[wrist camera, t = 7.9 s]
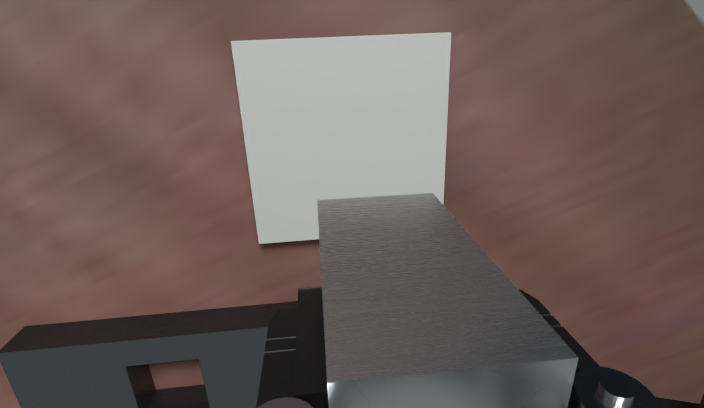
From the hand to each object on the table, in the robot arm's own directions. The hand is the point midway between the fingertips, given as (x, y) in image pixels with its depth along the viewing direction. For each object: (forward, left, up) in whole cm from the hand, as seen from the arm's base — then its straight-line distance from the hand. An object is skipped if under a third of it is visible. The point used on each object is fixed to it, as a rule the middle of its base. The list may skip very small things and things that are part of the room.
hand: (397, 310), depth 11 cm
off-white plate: (0, 0, -19) cm, 19 cm away
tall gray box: (0, 0, -4) cm, 4 cm away
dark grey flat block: (-15, -18, -19) cm, 30 cm away
